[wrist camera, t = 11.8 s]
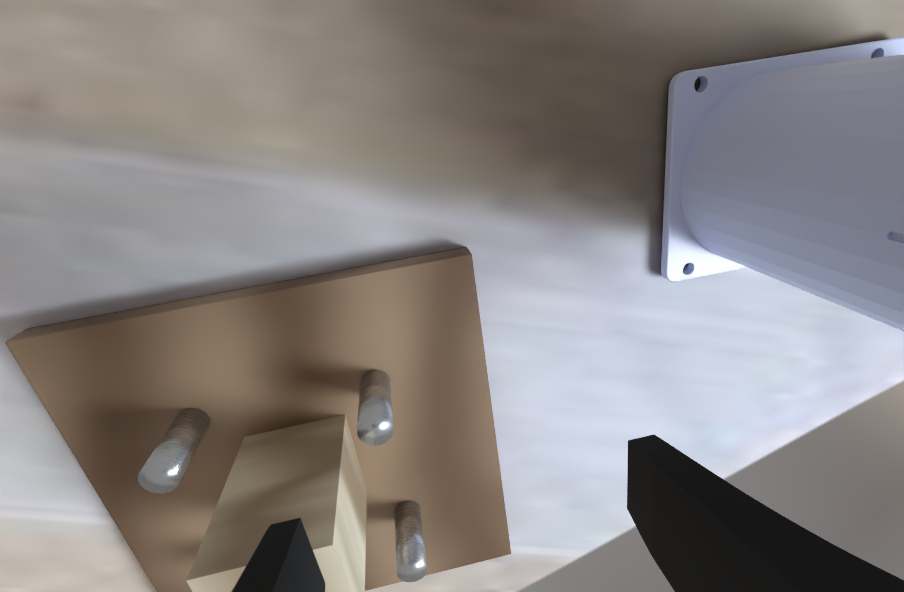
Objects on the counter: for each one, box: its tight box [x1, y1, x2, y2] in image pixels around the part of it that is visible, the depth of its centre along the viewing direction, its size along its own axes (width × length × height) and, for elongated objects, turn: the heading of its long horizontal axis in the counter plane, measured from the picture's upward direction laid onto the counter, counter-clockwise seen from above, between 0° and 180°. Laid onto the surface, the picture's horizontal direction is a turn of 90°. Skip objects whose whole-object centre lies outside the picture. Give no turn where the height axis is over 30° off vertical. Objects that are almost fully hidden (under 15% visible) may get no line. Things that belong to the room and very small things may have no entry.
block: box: [186, 415, 367, 592], centre depth 16 cm, size 4×4×6 cm
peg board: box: [5, 247, 511, 592], centre depth 18 cm, size 16×16×4 cm
